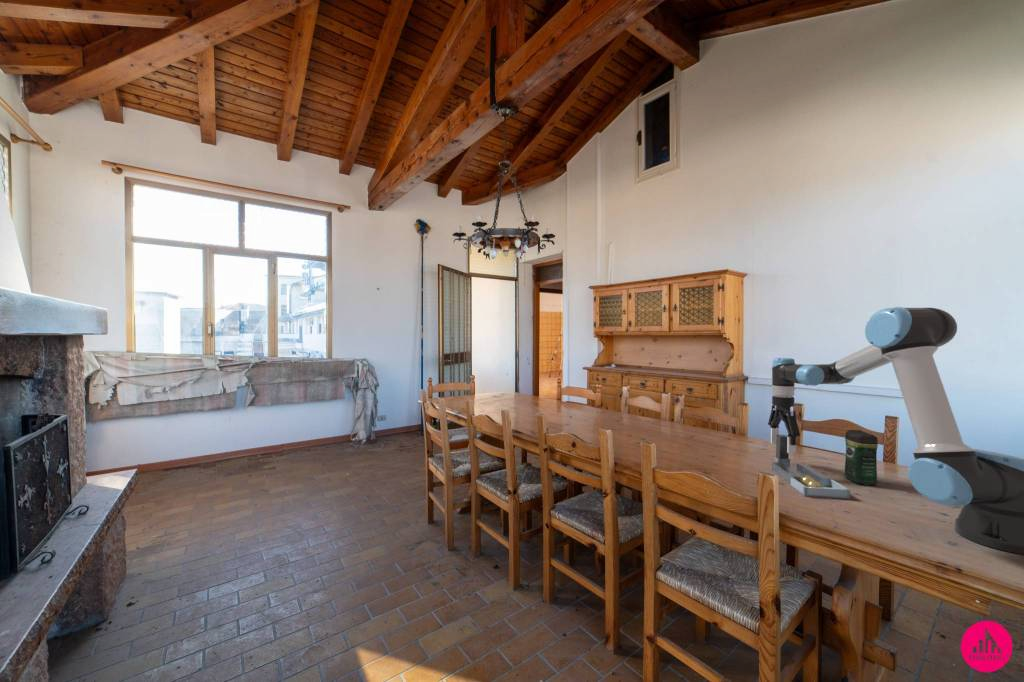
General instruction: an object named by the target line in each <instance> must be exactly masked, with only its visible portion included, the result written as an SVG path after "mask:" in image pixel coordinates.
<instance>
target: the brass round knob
mask: <svg viewBox="0 0 1024 682" xmlns="http://www.w3.org/2000/svg"><path fill="white" fill-rule="evenodd" d="M809 479H812V480H814V479H813V478H811V477H810V476H808V475H804V476H802V477H801V478H800V483H801V484H803V485H804V486H805V482H806V481H807V480H809Z"/></svg>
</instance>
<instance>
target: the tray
mask: <svg viewBox="0 0 1024 682" xmlns="http://www.w3.org/2000/svg"><path fill="white" fill-rule="evenodd" d="M790 487H791V488H793V489H794V490H796V491H797V492H798V493H800V494H801V495H802V496H803V497H807V498H808V497H809V496H810V497H811V498H812V497H813V498H831V499H843V500H844V499H848V500H850V499H851V489H849V488H847V487H846V486H844V485H842V484H841V483H839V482H837V481H836V480H834V479H830V487H825V486H823V488H821V487H806V486H804V485H803V484H801V483H800V482H798V481H797V480H796V479H794V478H791V484H790Z"/></svg>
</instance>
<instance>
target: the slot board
mask: <svg viewBox="0 0 1024 682" xmlns="http://www.w3.org/2000/svg"><path fill="white" fill-rule="evenodd" d="M772 470H773V471H774V472H775V473H774V472H773V471H772ZM771 471H772V472H773V473H774V474H776V473H777V474H776V475H777V476H779V477H780V476H781V477H783V478H784V479H785V480H786V481H785V480H784V479H783V480H784V481H785V482H787V483H788V485H789V484H790V485H791V478H794V479H796V480H797V481H798V482H800V478H801V477H802V476H804V475H808V476H810V477H811V478H813V479H814V480H815V481H817V482H819V483H821V484H822V486H825V487H830V480H832V479H831V478H830V477H829V476H827V475H826V474H824V473H822V472H820V471H819V470H817V469H815V468H813V467H812V466H811V465H808V464H807V463H803V462H802V463H801V462H799V463H796V466H790V467H787V466H785V465H783V464H782V463H780V462H774V461H772V462H771ZM781 477H780V478H781Z"/></svg>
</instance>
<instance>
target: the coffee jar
mask: <svg viewBox="0 0 1024 682" xmlns="http://www.w3.org/2000/svg"><path fill="white" fill-rule="evenodd" d="M844 436H845V437H844V441H845V461H844V477H845V478H846V479H847V480H849V481H851V482H853V483H855V484H860V485H864V486H873V485H877V483H878V468H877V465H878V464H877V457H878V456H877V453H878V452H877V451H878V447H879V442H878V441H879V440H878V437H877V436H875V435H874V434H871V433H868V432H865V431H864V430H863V431H862V430H860V429H859V430H858V429H849V430H847V431H845V435H844Z"/></svg>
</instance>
